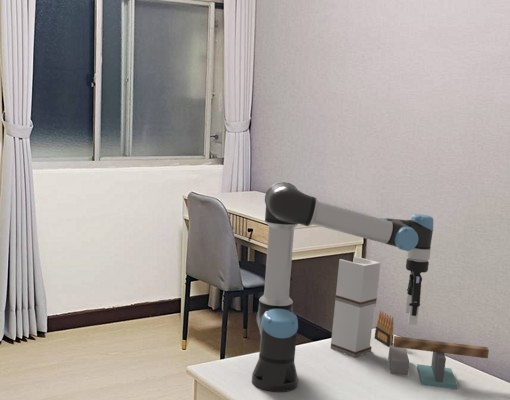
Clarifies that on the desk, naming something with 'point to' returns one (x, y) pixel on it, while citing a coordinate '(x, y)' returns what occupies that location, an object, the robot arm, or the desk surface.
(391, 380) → the desk surface
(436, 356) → the stand
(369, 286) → the tall open-top box
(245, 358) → the desk surface
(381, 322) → the ammunition clip
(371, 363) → the desk surface
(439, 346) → the walnut rod
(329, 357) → the desk surface
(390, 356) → the riser block
